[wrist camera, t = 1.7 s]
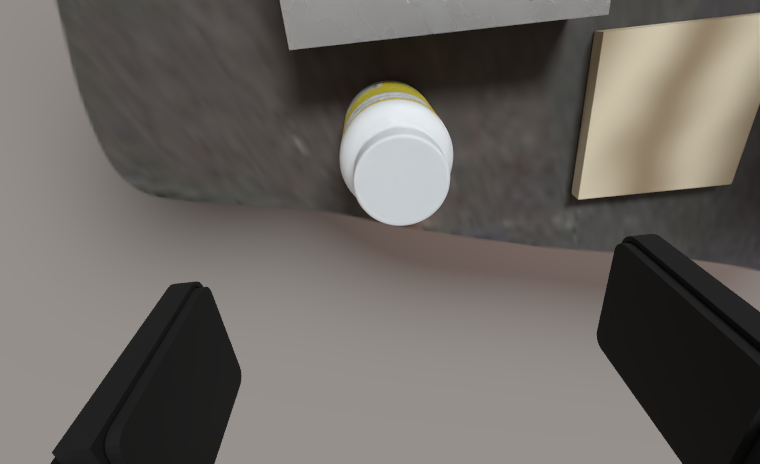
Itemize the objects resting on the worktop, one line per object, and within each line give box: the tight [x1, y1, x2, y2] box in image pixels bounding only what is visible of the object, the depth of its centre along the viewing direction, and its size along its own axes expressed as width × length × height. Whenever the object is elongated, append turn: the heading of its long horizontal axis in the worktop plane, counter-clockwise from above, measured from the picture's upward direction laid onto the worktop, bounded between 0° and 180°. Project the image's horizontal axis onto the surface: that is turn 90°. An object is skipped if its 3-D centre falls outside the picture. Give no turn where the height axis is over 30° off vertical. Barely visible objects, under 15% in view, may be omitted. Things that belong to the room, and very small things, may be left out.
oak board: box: [571, 13, 760, 200], centre depth 24 cm, size 10×10×1 cm
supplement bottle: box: [340, 81, 453, 226], centre depth 21 cm, size 5×5×10 cm
